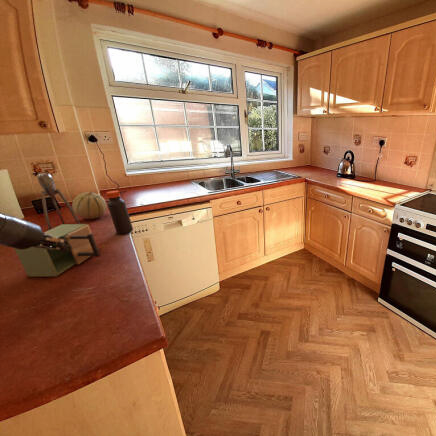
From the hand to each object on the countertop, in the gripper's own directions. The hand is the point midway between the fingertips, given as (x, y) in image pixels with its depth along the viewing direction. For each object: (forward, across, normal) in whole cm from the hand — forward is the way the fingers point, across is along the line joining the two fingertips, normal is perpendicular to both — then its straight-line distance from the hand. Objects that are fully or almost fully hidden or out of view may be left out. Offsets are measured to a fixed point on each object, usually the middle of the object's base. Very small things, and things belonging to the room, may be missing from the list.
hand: (68, 249), depth 80 cm
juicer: (+32, +35, -16) cm, 50 cm away
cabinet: (+14, +14, +1) cm, 20 cm away
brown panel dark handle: (+16, +3, -1) cm, 16 cm away
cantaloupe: (+47, +39, -31) cm, 69 cm away
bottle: (+34, +8, -18) cm, 39 cm away
